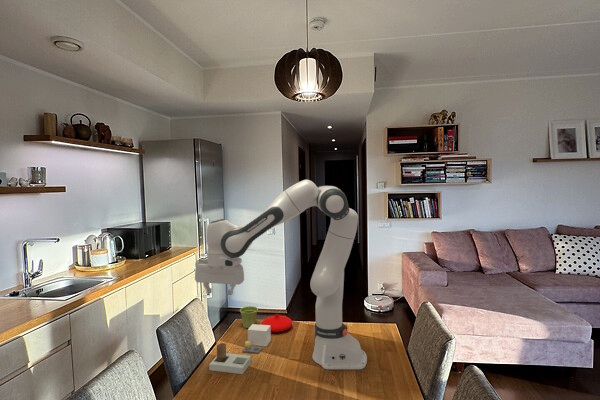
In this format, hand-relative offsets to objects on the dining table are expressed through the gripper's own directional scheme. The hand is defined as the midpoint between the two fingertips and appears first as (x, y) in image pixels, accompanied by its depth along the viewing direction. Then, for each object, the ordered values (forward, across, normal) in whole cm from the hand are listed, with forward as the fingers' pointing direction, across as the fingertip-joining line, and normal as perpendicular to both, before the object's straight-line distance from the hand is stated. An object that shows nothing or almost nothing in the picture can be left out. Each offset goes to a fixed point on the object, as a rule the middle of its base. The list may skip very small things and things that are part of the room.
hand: (219, 293), depth 129 cm
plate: (+29, +8, +13) cm, 33 cm away
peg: (+29, 0, 0) cm, 29 cm away
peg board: (+29, +4, 0) cm, 29 cm away
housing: (+29, +9, +21) cm, 37 cm away
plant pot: (+29, -3, +37) cm, 47 cm away
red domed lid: (+30, +12, +37) cm, 49 cm away
